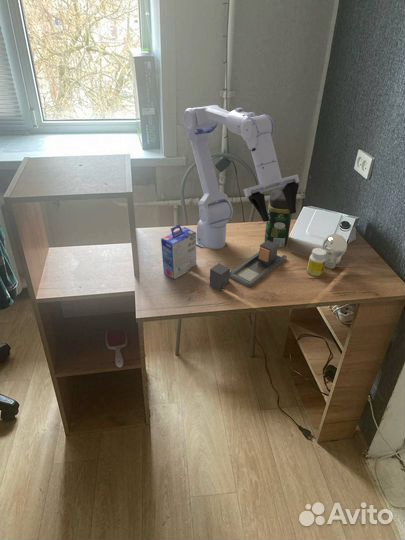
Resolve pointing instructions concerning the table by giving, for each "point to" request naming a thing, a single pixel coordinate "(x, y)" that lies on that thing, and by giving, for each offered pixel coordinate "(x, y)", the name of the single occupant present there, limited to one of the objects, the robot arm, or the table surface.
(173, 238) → the ink cartridge box
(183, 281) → the table surface
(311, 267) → the supplement bottle
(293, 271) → the table surface
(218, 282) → the grey square block
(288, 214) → the coffee jar
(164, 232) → the table surface
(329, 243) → the light bulb
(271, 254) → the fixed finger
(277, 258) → the rail
